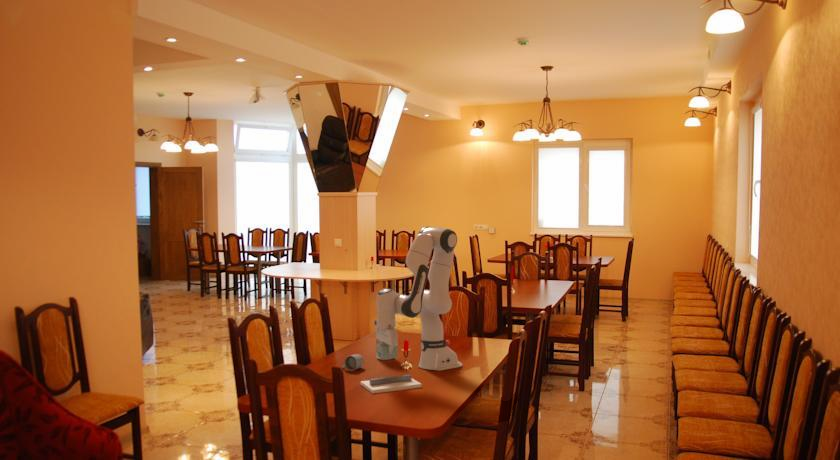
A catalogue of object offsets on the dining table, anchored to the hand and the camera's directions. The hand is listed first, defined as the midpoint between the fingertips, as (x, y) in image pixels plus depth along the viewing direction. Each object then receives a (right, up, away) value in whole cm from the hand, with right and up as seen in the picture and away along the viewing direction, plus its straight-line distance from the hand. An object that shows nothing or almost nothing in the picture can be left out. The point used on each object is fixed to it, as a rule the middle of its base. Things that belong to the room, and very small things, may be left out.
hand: (387, 351), depth 327 cm
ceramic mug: (-19, -12, +18) cm, 29 cm away
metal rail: (+2, -12, -13) cm, 18 cm away
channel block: (0, -3, 0) cm, 3 cm away
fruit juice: (-3, -11, +42) cm, 43 cm away
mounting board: (+2, -13, -13) cm, 19 cm away
